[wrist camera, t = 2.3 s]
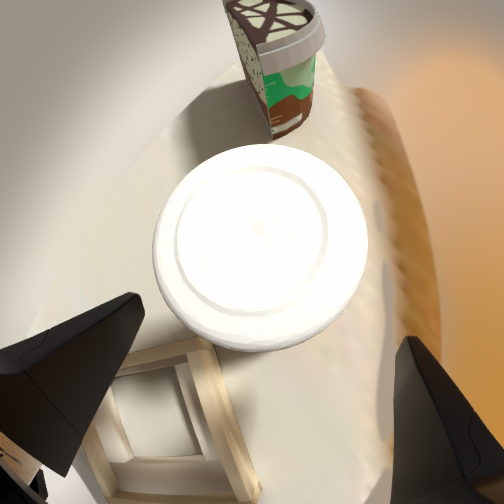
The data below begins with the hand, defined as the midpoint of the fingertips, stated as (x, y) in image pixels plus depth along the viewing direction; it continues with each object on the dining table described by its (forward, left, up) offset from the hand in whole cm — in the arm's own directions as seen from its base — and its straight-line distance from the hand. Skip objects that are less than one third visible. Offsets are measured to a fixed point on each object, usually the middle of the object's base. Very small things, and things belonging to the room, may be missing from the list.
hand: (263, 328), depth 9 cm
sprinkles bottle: (+2, -1, -10) cm, 10 cm away
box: (-5, +11, -9) cm, 15 cm away
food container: (+19, -7, -10) cm, 23 cm away
